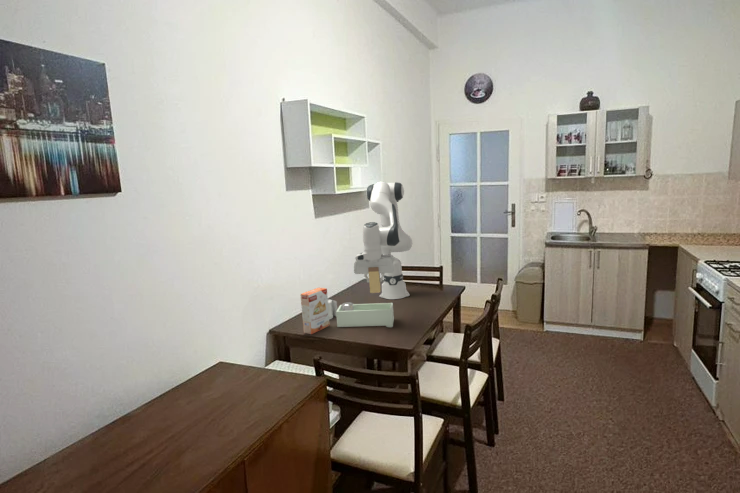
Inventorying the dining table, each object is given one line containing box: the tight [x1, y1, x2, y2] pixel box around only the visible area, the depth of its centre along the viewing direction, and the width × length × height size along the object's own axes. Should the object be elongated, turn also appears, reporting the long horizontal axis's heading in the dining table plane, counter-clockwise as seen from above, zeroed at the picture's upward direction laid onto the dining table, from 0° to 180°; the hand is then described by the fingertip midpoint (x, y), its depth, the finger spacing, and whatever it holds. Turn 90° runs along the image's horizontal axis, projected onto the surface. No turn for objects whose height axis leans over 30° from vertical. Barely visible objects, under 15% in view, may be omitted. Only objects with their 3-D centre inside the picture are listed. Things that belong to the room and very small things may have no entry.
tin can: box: [341, 302, 354, 311], centre depth 228 cm, size 6×6×10 cm
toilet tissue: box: [328, 299, 338, 321], centre depth 240 cm, size 11×12×10 cm
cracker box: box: [300, 287, 330, 335], centre depth 221 cm, size 14×6×21 cm, turn 145°
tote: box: [335, 302, 395, 328], centre depth 227 cm, size 12×28×9 cm, turn 84°
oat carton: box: [368, 267, 382, 294], centre depth 224 cm, size 5×5×13 cm
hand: (374, 281), depth 224 cm, fingers closed on oat carton, 5 cm apart
